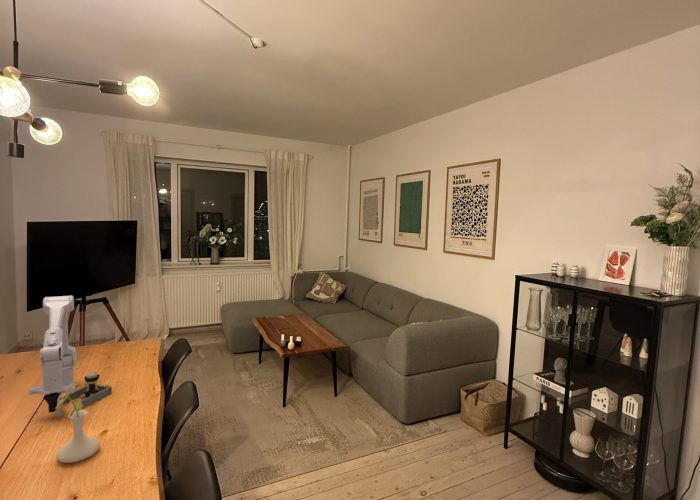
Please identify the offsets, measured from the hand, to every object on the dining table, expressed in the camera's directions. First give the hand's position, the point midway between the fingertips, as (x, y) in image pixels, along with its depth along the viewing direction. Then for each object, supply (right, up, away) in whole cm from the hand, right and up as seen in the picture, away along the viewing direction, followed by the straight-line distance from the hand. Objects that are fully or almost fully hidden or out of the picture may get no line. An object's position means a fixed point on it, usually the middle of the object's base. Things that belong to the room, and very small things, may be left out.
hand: (53, 411), depth 139 cm
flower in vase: (+26, -5, -22) cm, 34 cm away
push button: (+3, -1, +16) cm, 17 cm away
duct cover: (-1, -2, +4) cm, 5 cm away
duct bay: (+2, -1, +14) cm, 14 cm away
